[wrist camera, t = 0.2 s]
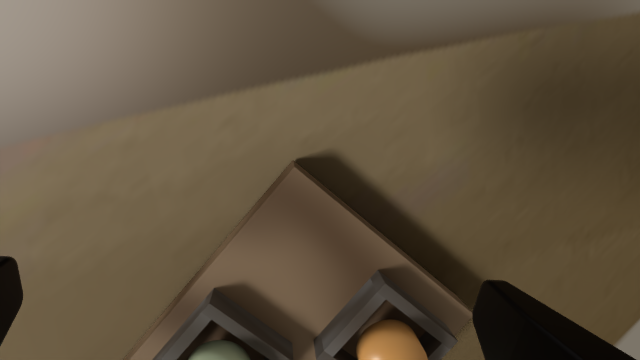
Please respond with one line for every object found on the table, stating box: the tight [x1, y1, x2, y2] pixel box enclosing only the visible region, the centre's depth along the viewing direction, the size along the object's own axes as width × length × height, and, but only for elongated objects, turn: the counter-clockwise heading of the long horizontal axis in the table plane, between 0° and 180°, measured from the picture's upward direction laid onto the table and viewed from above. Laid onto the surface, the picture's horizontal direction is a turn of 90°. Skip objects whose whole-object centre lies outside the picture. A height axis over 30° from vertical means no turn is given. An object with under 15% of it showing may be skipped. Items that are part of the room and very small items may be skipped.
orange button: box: [356, 319, 428, 360], centre depth 21 cm, size 3×3×2 cm
